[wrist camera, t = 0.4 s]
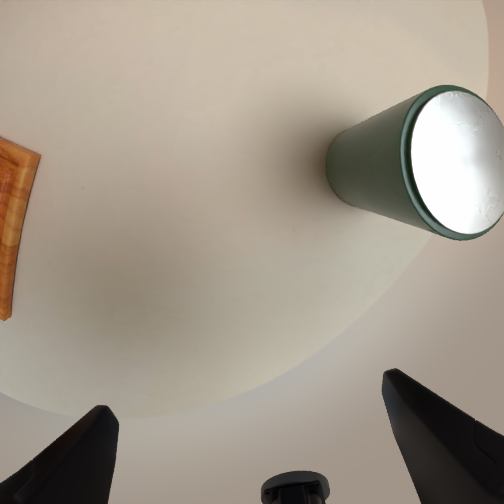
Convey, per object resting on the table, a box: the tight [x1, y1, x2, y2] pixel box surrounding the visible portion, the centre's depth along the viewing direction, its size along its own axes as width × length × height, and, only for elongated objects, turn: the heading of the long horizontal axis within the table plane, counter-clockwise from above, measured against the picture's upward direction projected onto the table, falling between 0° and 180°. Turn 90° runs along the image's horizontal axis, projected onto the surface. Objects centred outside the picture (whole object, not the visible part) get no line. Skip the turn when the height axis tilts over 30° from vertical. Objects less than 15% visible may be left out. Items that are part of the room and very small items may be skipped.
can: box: [325, 85, 504, 241], centre depth 15 cm, size 6×6×12 cm
